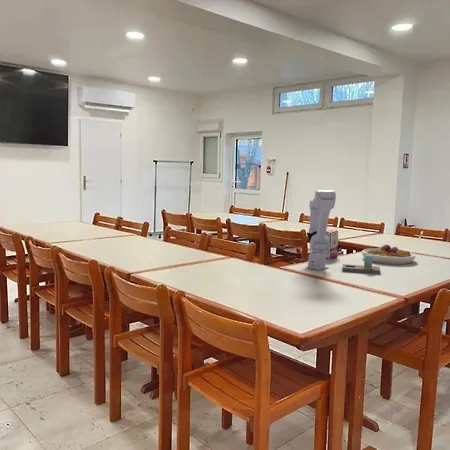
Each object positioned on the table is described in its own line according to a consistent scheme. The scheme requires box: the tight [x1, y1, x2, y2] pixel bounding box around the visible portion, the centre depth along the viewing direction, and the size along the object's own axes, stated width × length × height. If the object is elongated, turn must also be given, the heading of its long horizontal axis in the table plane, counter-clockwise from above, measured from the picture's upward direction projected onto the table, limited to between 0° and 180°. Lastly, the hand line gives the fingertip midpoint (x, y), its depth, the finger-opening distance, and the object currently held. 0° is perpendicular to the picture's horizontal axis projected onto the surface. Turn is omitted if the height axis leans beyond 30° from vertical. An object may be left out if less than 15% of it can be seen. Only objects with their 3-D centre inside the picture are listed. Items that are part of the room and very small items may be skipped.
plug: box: [363, 255, 373, 268], centre depth 239 cm, size 4×4×6 cm
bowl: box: [361, 244, 416, 265], centre depth 271 cm, size 30×30×8 cm
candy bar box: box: [326, 229, 339, 260], centre depth 275 cm, size 11×5×16 cm, turn 143°
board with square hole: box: [341, 263, 381, 275], centre depth 240 cm, size 19×10×2 cm, turn 74°
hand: (314, 244), depth 260 cm, fingers open, 7 cm apart
